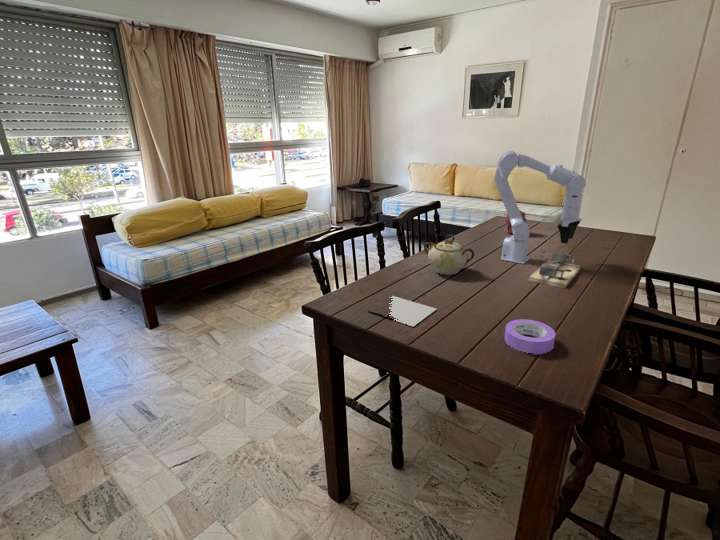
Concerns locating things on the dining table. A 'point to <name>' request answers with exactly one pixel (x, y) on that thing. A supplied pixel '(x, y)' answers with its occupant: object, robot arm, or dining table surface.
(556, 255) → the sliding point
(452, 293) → the dining table surface
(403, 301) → the paper stack
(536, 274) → the hole board
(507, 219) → the mechanical component
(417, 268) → the dining table surface
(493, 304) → the dining table surface
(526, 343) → the masking tape
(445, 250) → the cream teapot
